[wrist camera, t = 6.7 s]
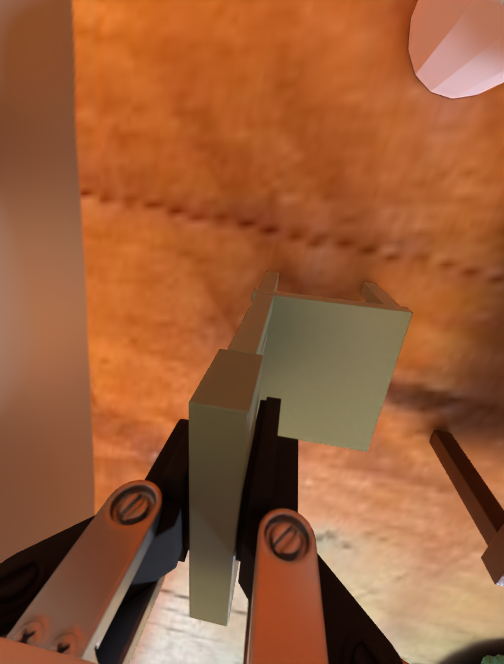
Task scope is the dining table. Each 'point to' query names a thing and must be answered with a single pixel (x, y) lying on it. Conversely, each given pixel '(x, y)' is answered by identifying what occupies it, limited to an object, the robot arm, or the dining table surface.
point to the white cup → (458, 45)
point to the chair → (295, 412)
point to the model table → (474, 500)
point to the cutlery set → (493, 659)
